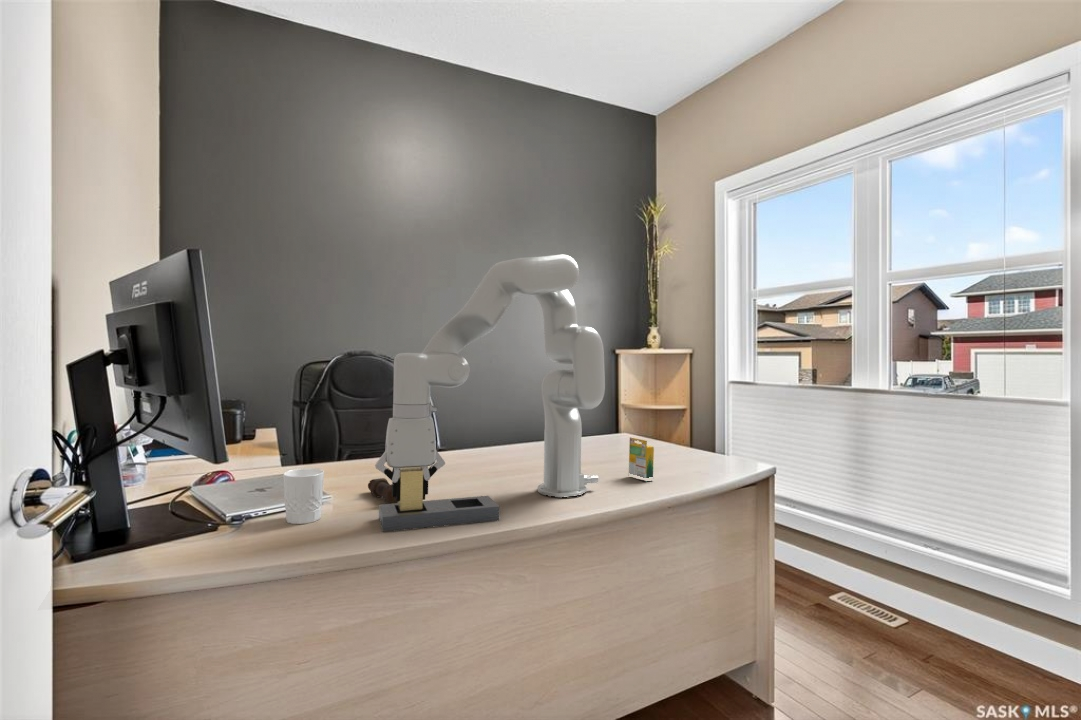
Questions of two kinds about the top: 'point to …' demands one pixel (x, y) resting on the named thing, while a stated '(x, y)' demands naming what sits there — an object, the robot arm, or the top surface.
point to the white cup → (303, 495)
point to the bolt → (382, 490)
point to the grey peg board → (439, 513)
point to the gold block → (411, 488)
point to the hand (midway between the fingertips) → (410, 498)
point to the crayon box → (641, 458)
